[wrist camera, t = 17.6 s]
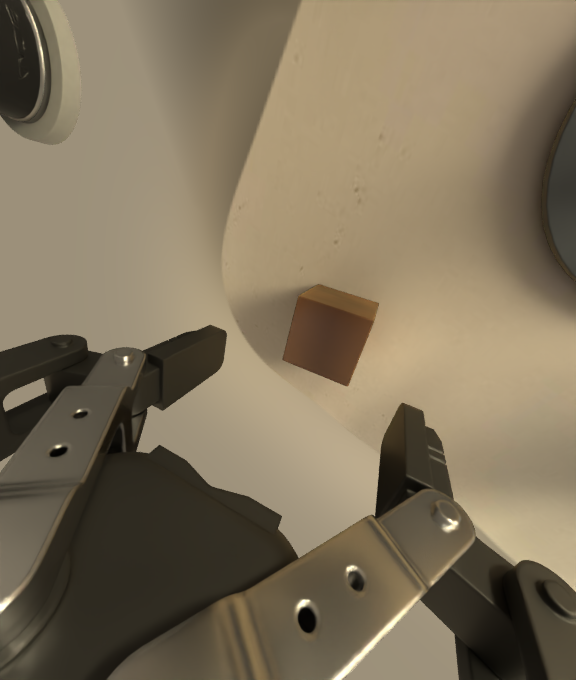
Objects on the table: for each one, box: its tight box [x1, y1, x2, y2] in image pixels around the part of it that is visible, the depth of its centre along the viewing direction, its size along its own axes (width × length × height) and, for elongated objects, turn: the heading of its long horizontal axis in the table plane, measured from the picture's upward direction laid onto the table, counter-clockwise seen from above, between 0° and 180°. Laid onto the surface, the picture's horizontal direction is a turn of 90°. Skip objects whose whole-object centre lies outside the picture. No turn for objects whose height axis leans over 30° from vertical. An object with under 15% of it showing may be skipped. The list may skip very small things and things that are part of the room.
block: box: [283, 284, 379, 386], centre depth 17 cm, size 4×4×4 cm
